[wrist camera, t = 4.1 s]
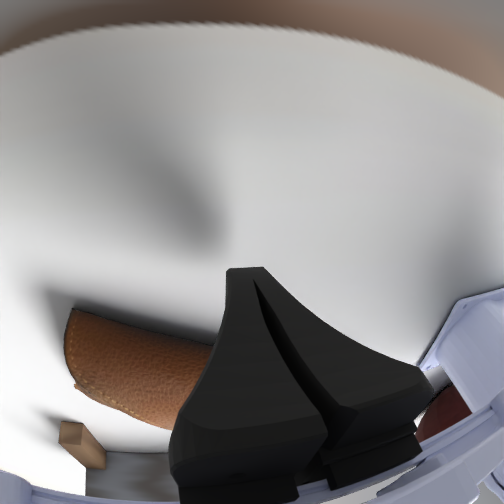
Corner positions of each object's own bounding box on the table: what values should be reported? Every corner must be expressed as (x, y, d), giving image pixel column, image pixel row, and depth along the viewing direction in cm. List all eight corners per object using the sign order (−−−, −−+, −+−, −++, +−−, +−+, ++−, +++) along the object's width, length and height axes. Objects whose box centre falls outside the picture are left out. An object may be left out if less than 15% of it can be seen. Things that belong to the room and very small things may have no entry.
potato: (382, 435, 32) (411, 497, 23) (435, 375, 25) (482, 451, 16) (438, 412, 34) (467, 463, 26) (488, 353, 28) (529, 410, 19)
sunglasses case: (68, 392, 15) (52, 452, 9) (83, 290, 16) (60, 316, 10) (300, 420, 22) (350, 461, 16) (327, 343, 23) (388, 370, 17)
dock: (384, 389, 23) (408, 433, 19) (352, 433, 28) (368, 469, 23) (61, 421, 17) (55, 476, 13) (97, 460, 22) (97, 502, 18)
